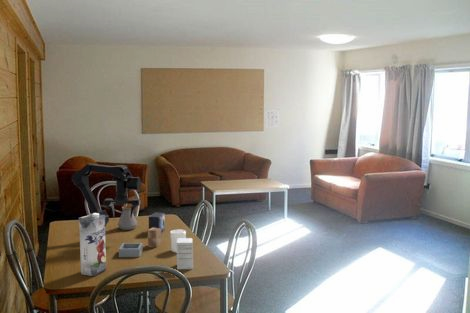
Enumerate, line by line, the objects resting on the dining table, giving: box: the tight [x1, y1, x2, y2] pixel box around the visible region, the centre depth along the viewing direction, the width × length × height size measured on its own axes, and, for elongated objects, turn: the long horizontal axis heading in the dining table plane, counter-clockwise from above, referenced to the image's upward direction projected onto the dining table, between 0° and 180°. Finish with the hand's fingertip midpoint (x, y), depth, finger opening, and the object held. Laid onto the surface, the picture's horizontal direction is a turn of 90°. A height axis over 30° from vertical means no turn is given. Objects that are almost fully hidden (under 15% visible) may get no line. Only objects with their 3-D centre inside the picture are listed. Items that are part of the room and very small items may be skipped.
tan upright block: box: [147, 228, 162, 249], centre depth 262 cm, size 5×5×9 cm
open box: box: [118, 242, 144, 258], centre depth 249 cm, size 10×10×4 cm
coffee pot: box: [99, 204, 138, 231], centre depth 293 cm, size 21×12×15 cm, turn 105°
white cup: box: [169, 228, 187, 253], centre depth 254 cm, size 8×8×10 cm
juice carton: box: [78, 213, 107, 277], centre depth 221 cm, size 9×10×27 cm
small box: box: [148, 211, 166, 234], centre depth 287 cm, size 11×6×10 cm, turn 169°
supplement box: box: [176, 237, 194, 270], centre depth 230 cm, size 7×7×13 cm
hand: (122, 217), depth 268 cm, fingers open, 9 cm apart
